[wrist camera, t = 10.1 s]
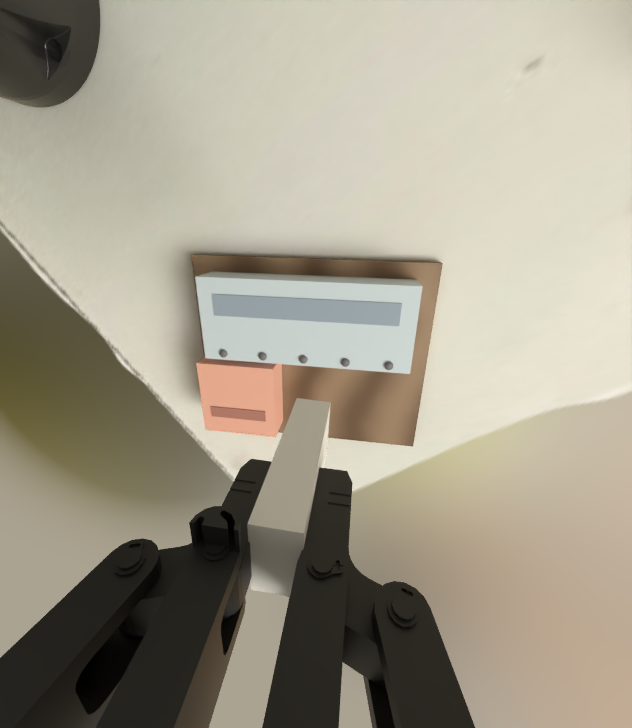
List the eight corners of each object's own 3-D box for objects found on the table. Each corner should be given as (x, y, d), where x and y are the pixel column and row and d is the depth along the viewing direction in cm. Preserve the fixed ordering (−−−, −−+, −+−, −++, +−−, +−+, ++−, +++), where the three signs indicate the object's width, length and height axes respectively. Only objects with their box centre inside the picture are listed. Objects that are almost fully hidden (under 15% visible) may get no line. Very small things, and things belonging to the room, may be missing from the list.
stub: (218, 413, 40) (205, 430, 36) (211, 351, 37) (195, 363, 33) (283, 419, 39) (275, 437, 35) (281, 356, 35) (272, 369, 32)
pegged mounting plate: (219, 346, 36) (204, 358, 33) (212, 271, 33) (194, 277, 30) (406, 359, 34) (410, 374, 30) (417, 279, 30) (422, 286, 27)
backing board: (215, 421, 41) (213, 425, 41) (195, 254, 34) (191, 255, 33) (412, 442, 38) (412, 446, 38) (440, 262, 30) (442, 263, 30)
